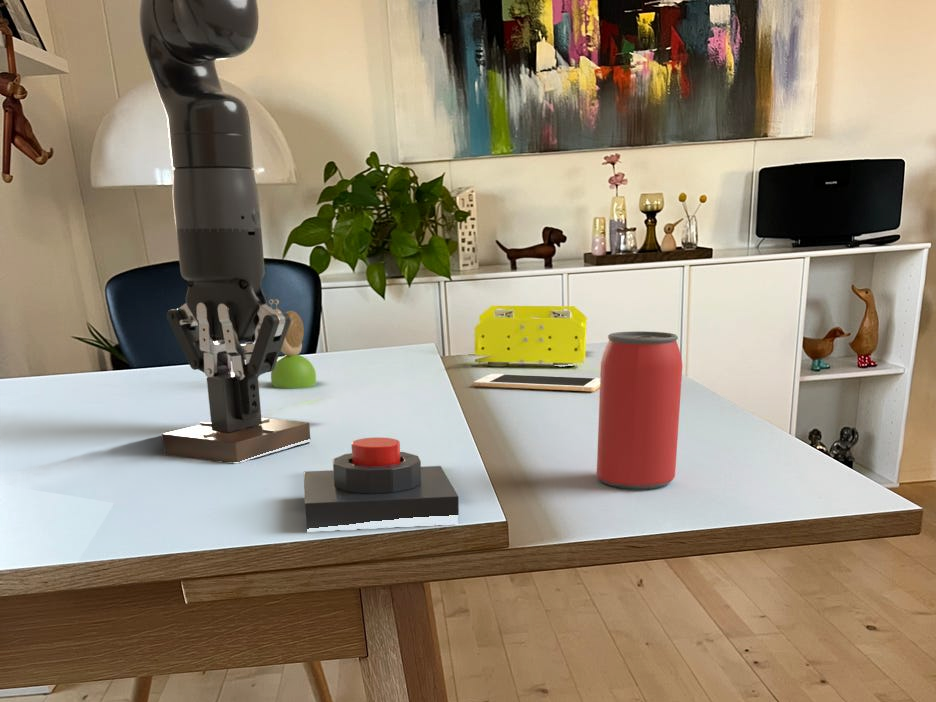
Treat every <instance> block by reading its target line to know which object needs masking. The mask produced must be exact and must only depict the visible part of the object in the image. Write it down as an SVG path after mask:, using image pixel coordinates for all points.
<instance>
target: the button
mask: <svg viewBox="0 0 936 702" xmlns="http://www.w3.org/2000/svg"><path fill="white" fill-rule="evenodd" d="M400 452H401V442H400V440H399V439H397V438H392V437H378V436H377V437H364V438H358V439H355V440H353V441H351V453H352V463H353V464H355V465H361V466H388V465H393V464H399V463H400Z"/></svg>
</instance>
